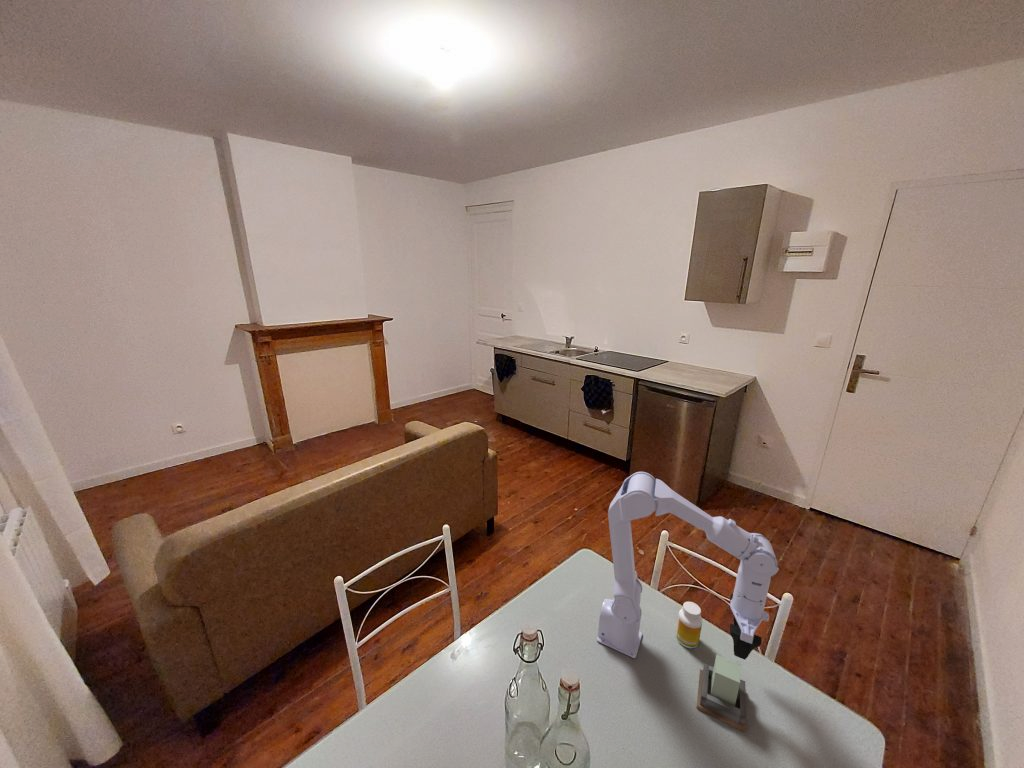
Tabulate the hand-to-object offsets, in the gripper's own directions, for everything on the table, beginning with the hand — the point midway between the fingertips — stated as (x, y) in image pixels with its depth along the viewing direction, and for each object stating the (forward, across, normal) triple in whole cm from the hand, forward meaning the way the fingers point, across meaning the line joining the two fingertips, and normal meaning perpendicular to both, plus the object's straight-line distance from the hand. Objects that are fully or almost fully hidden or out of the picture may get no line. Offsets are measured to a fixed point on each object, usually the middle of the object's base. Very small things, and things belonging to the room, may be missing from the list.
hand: (739, 642), depth 84 cm
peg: (+9, -7, +2) cm, 12 cm away
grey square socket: (+10, -7, +2) cm, 12 cm away
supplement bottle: (+10, +5, +10) cm, 15 cm away
